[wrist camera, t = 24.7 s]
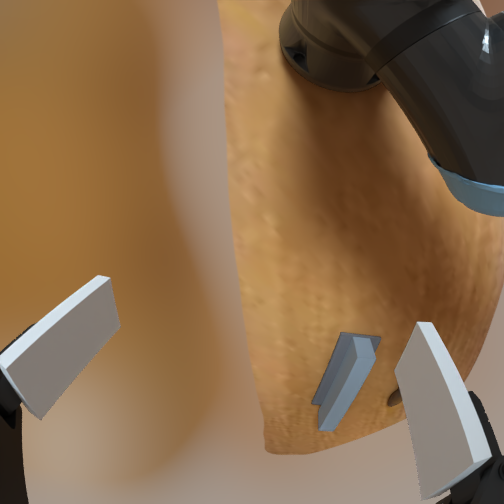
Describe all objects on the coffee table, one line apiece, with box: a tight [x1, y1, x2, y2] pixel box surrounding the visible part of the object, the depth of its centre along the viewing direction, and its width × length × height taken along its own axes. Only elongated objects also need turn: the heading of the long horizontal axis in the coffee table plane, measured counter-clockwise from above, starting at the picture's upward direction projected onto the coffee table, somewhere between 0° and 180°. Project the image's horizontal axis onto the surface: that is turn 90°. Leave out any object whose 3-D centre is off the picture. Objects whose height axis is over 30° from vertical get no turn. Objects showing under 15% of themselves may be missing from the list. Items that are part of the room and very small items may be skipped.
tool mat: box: [312, 332, 381, 405], centre depth 42 cm, size 18×7×1 cm, turn 172°
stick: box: [318, 337, 376, 431], centre depth 40 cm, size 20×3×5 cm, turn 172°
